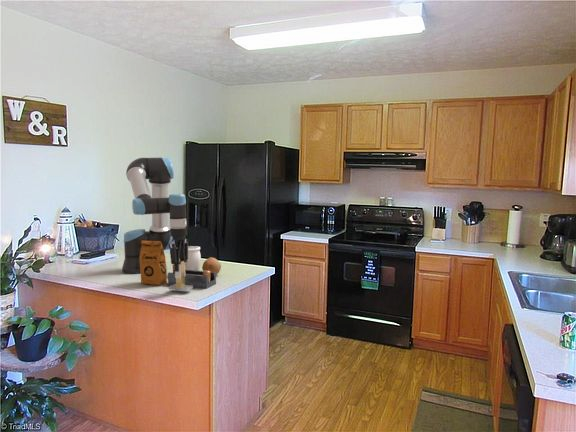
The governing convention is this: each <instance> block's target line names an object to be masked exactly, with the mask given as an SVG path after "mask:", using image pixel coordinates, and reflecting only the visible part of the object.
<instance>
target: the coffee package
mask: <svg viewBox="0 0 576 432" xmlns="http://www.w3.org/2000/svg"><path fill="white" fill-rule="evenodd" d="M141 244H142V247H141V252H140V256H139V259H140V272H141V273H140V284H142V285H152V286H162V285H164V284H168V269H167V261H166V255H165V250H163V246H162V243H161V241H142V242H141Z"/></svg>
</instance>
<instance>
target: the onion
mask: <svg viewBox="0 0 576 432" xmlns="http://www.w3.org/2000/svg"><path fill="white" fill-rule="evenodd" d="M221 269H222V264H221V262H220V261H219V260H218V259H217V258H215V257H208V258H206V259H205V260H204V262H203V263H202V270H201V271H204V270H210V272H216V276H217V275H218V274H219V273H220V271H221Z"/></svg>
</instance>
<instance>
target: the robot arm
mask: <svg viewBox="0 0 576 432" xmlns="http://www.w3.org/2000/svg"><path fill="white" fill-rule="evenodd" d="M125 175H126V179H127V180H128V182H130V185H131V188H132V194H133V196H134V198H132V202H131V209H132V213H133V215H137V216H139V215H141V216H143V215H151V221H152V222H151V224H152V225H151V226H150V227H149V230H148V231H146V229H145V228H138V229H132V230H128V231H126V232H124V234H123V245H124V248H123V249H124V259H123V260H124V261H123V264H122V267H121V269H122V270H121V272H122V273H123V274H128V275H133V274H134V275H135V274H136V275H137V274H141V272H140V259H139V256H140V252H141V247H142V244H141V242H142V241H161V243H162V246H163V250H164V251H168V250H169V255H170V264H171V265H174V266H175V278H181V264H179V261H180V260H181V261H184V268H185V262H187V261H186V260H188V246H189V242H190V240H189V239H187V238H186V236H187V235H188V230H187V226H188V225H187V221H188V220H187V199H186V195H185V194H184V193H172V194H171V193H170V194H169V190H168V188H169V186H168V185H170V183H171V180H173V179H174V177H175V171H174V166H173V162H172V160H171V159H170V158H168V157H161V156H160V157H138V158H136V159H134V160H132V161H131V162H130V164H128V165H127V168H126V174H125ZM147 180H148V182H147ZM148 183H149V184H150V185H151V191H150V187H149V185H148ZM168 215H169V216H168ZM168 219H169V220H168ZM168 222H169V223H168ZM185 257H186V258H185Z"/></svg>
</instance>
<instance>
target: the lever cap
mask: <svg viewBox="0 0 576 432" xmlns="http://www.w3.org/2000/svg"><path fill="white" fill-rule="evenodd" d="M179 264H181V278H176V284H174V285H168V290H173V291H183V292H188V291H190V290H192V289H194V287H193V286H191V285H185V268H184V261H181V260H180V261H179Z"/></svg>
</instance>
